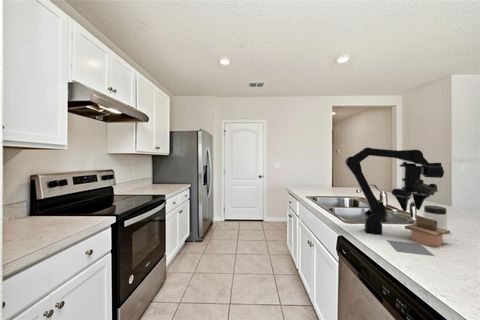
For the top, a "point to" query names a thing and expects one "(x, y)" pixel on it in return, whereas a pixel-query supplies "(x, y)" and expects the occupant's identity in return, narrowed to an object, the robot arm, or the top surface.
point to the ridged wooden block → (427, 227)
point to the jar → (436, 215)
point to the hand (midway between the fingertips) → (411, 210)
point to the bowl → (426, 239)
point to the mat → (409, 248)
